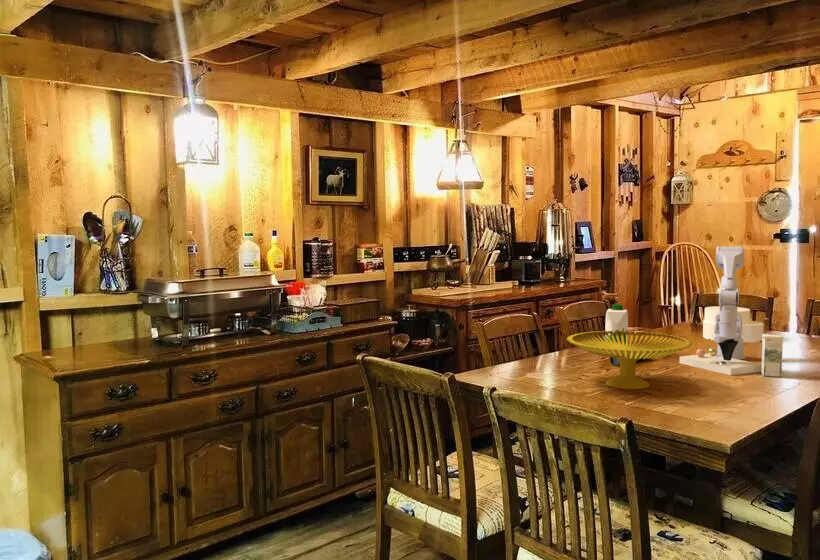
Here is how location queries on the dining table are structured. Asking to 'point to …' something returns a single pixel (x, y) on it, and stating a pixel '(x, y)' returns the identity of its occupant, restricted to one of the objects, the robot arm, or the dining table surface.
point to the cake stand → (628, 352)
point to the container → (749, 328)
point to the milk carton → (616, 321)
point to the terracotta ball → (700, 352)
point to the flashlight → (616, 362)
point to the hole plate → (713, 364)
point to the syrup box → (771, 355)
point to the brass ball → (712, 351)
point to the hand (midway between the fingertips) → (727, 360)
